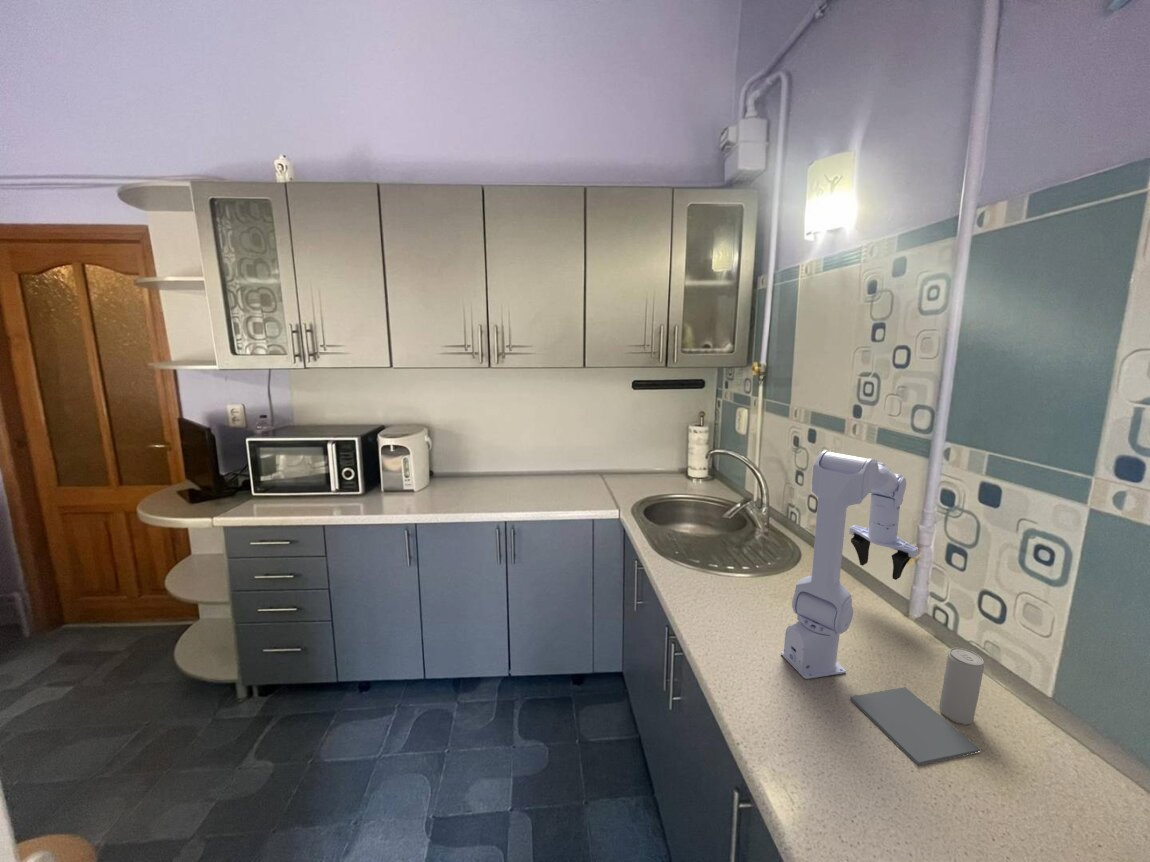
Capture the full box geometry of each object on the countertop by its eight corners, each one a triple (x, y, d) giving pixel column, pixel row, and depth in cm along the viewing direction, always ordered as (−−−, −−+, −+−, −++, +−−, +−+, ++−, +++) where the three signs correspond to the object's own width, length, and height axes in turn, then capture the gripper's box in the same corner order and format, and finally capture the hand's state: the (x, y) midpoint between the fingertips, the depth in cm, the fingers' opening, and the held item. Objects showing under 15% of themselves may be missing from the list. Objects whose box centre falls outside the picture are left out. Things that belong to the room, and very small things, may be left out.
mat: (918, 765, 73) (918, 762, 73) (850, 699, 87) (850, 696, 87) (980, 752, 76) (980, 749, 76) (904, 689, 89) (905, 687, 89)
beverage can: (957, 704, 86) (968, 646, 83) (980, 726, 81) (992, 665, 78) (931, 705, 85) (941, 647, 83) (953, 727, 81) (964, 666, 78)
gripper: (927, 526, 105) (921, 578, 109) (862, 505, 118) (859, 552, 121) (910, 536, 102) (905, 589, 106) (845, 513, 114) (842, 562, 118)
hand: (879, 570), depth 113 cm, fingers open, 7 cm apart
